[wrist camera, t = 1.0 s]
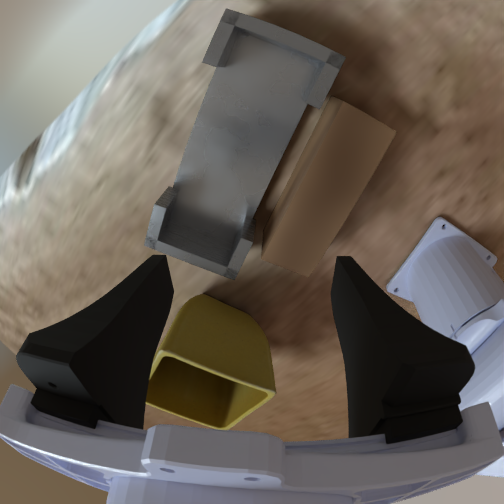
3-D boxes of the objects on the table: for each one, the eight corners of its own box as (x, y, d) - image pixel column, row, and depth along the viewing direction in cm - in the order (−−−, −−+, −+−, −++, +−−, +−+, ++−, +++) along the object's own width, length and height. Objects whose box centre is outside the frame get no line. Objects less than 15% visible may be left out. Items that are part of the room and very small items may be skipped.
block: (376, 120, 18) (396, 132, 15) (304, 245, 24) (308, 277, 21) (330, 95, 18) (343, 101, 14) (263, 229, 24) (261, 259, 20)
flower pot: (190, 266, 26) (160, 350, 18) (280, 308, 28) (278, 395, 20) (159, 325, 30) (133, 399, 23) (235, 357, 32) (225, 432, 25)
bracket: (334, 57, 16) (347, 54, 13) (239, 251, 24) (233, 282, 21) (236, 17, 15) (227, 5, 12) (160, 221, 23) (143, 247, 20)
